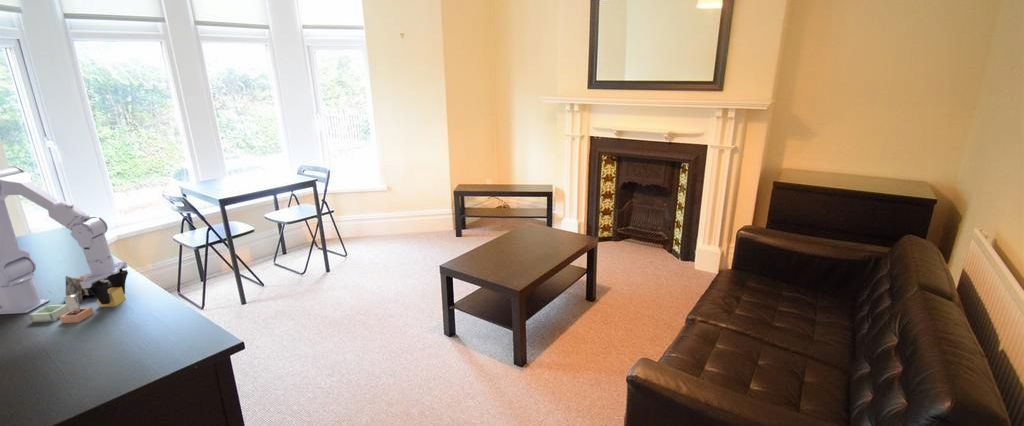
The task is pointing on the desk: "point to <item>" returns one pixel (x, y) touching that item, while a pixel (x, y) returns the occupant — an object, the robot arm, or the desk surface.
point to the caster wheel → (76, 288)
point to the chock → (114, 297)
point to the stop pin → (73, 304)
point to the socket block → (76, 316)
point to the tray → (49, 313)
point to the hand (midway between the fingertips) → (113, 298)
